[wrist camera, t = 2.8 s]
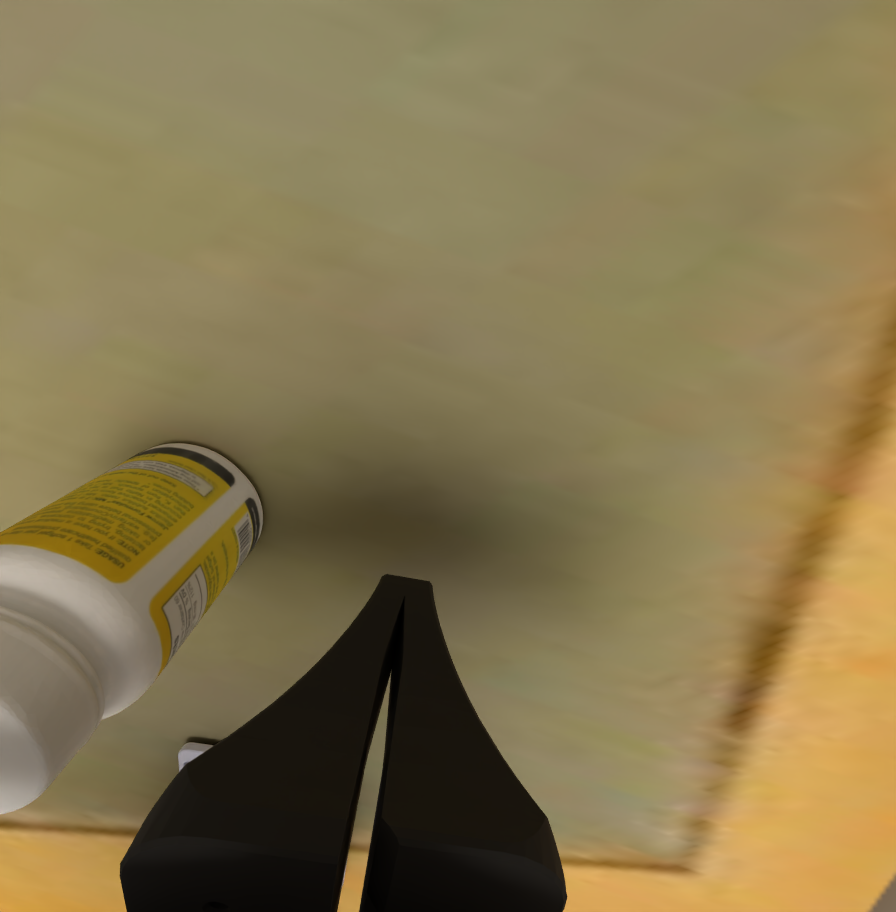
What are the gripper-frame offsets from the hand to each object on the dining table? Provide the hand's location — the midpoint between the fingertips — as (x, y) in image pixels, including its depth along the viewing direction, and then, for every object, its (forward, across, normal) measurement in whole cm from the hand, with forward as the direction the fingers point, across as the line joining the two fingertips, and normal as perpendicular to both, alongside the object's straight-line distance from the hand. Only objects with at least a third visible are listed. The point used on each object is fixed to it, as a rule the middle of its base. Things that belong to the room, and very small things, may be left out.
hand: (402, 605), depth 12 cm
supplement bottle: (+3, +8, 0) cm, 8 cm away
